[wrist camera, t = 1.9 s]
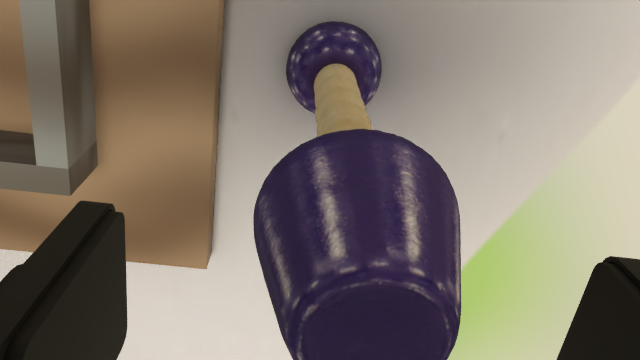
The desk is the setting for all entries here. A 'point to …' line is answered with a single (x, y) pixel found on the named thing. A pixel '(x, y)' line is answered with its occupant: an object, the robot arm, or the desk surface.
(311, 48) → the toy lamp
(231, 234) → the desk surface
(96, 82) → the socket board
